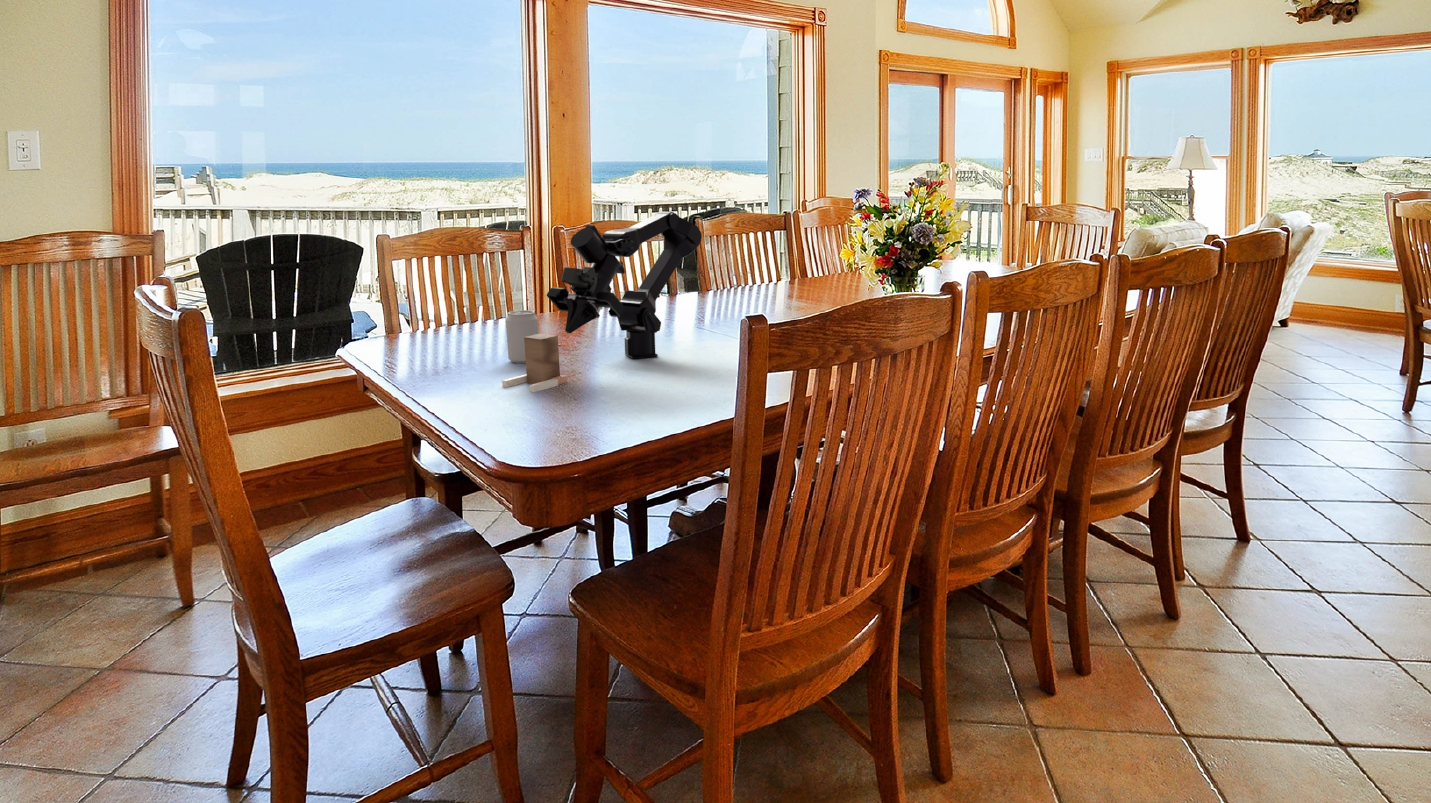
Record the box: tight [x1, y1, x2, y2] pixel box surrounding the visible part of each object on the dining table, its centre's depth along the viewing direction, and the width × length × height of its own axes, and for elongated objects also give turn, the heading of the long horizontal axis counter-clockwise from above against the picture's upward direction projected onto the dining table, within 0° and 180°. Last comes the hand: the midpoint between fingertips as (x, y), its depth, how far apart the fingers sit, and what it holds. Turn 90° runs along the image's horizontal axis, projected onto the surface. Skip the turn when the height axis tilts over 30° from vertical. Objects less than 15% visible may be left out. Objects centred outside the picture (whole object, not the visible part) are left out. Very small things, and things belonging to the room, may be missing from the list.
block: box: [524, 333, 561, 385], centre depth 205 cm, size 5×5×10 cm
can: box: [505, 309, 540, 364], centre depth 227 cm, size 8×8×12 cm
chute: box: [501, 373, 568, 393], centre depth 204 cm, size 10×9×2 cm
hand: (567, 332), depth 210 cm, fingers closed
